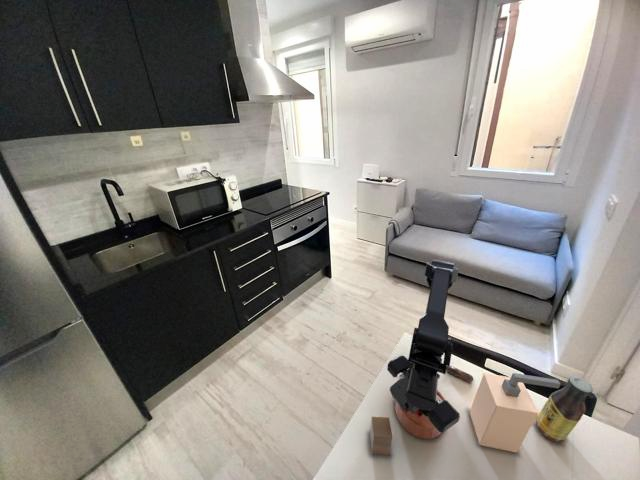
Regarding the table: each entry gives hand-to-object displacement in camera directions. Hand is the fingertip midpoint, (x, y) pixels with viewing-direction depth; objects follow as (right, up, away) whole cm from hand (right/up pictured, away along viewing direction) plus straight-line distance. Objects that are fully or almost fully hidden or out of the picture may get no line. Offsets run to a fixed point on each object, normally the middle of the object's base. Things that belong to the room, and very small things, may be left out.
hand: (415, 409), depth 69 cm
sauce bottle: (+36, -6, 0) cm, 36 cm away
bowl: (+3, -4, +5) cm, 7 cm away
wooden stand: (-10, -8, -2) cm, 13 cm away
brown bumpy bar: (+20, +2, +15) cm, 25 cm away
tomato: (0, +1, 0) cm, 1 cm away
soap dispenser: (+22, -6, 0) cm, 23 cm away
